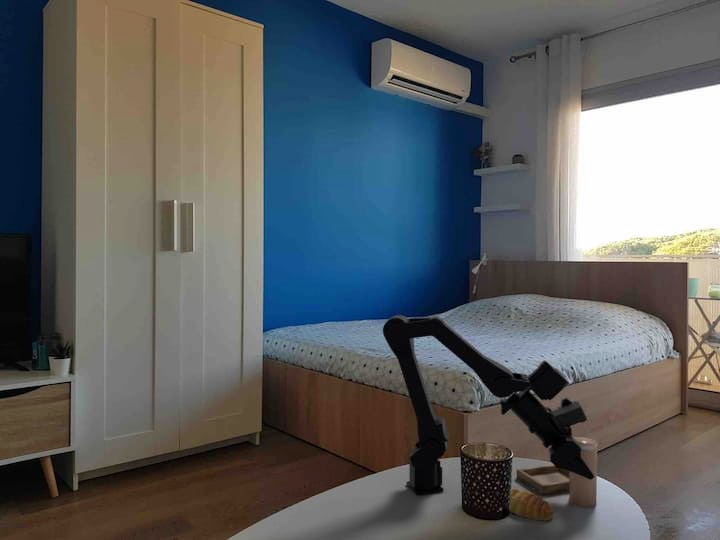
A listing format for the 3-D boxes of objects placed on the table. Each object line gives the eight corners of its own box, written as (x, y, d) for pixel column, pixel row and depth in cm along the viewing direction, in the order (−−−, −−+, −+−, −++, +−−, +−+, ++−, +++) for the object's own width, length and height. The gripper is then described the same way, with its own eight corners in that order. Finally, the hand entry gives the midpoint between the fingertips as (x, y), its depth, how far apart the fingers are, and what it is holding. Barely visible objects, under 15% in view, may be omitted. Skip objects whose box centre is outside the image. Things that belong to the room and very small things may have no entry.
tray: (542, 494, 123) (542, 485, 123) (516, 477, 132) (516, 469, 132) (588, 488, 126) (588, 479, 126) (559, 471, 136) (560, 463, 136)
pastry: (559, 515, 114) (559, 496, 114) (544, 527, 109) (544, 507, 109) (517, 501, 120) (517, 483, 120) (500, 512, 115) (500, 493, 115)
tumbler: (580, 509, 116) (581, 446, 115) (563, 498, 121) (563, 438, 121) (602, 505, 117) (603, 443, 117) (584, 495, 123) (585, 435, 122)
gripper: (568, 400, 110) (629, 460, 108) (556, 380, 129) (608, 431, 127) (526, 438, 112) (585, 497, 110) (521, 412, 131) (571, 463, 128)
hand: (588, 469), depth 119 cm, fingers open, 9 cm apart
